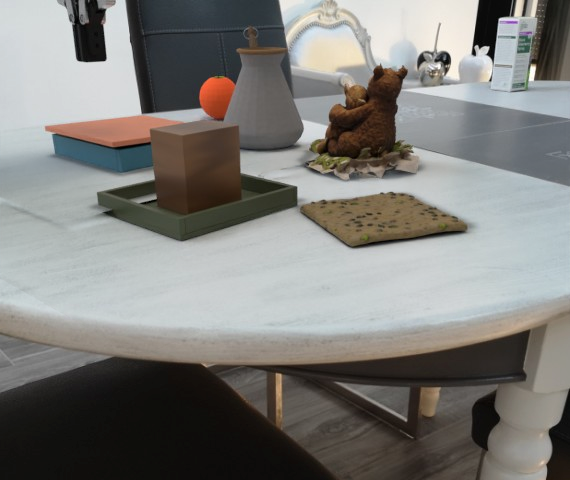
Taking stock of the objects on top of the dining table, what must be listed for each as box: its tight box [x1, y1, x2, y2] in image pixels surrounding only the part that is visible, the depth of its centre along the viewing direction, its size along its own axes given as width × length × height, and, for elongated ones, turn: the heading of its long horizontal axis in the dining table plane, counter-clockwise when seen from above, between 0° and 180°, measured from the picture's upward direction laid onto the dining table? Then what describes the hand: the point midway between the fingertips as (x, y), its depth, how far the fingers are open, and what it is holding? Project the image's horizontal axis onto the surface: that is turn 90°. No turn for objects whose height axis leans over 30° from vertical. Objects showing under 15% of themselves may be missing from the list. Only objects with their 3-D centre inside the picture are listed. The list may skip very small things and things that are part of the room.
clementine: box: [198, 74, 236, 120], centre depth 114 cm, size 8×7×7 cm
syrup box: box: [490, 15, 538, 93], centre depth 144 cm, size 6×6×14 cm
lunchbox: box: [51, 133, 153, 173], centre depth 87 cm, size 15×16×3 cm
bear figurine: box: [305, 62, 420, 181], centre depth 81 cm, size 14×15×12 cm
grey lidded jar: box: [222, 25, 305, 151], centre depth 94 cm, size 21×12×15 cm, turn 7°
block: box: [150, 119, 242, 215], centre depth 66 cm, size 7×5×8 cm
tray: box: [96, 172, 299, 242], centre depth 67 cm, size 15×13×2 cm
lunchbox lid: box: [44, 114, 185, 147], centre depth 86 cm, size 15×16×1 cm
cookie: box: [299, 191, 468, 247], centre depth 63 cm, size 12×12×1 cm
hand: (91, 61), depth 79 cm, fingers closed
